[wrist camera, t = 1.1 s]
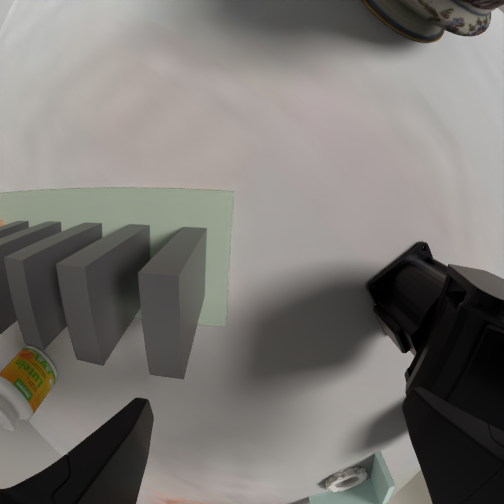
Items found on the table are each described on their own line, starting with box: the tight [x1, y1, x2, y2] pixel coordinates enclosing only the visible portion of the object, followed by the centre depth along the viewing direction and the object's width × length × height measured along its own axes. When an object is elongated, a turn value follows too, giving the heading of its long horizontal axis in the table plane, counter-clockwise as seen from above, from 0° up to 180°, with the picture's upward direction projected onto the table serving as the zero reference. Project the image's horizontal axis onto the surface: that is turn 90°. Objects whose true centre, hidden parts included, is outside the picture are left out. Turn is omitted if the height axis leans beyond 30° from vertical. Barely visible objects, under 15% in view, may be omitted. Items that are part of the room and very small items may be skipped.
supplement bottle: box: [0, 346, 57, 431], centre depth 18 cm, size 5×5×10 cm
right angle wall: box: [309, 451, 395, 504], centre depth 27 cm, size 12×12×8 cm
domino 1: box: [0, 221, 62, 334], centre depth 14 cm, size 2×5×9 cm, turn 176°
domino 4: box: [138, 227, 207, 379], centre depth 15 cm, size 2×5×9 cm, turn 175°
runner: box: [0, 188, 234, 327], centre depth 19 cm, size 30×10×1 cm, turn 85°
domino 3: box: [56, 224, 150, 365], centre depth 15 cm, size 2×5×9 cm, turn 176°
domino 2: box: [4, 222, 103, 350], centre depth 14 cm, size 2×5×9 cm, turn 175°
